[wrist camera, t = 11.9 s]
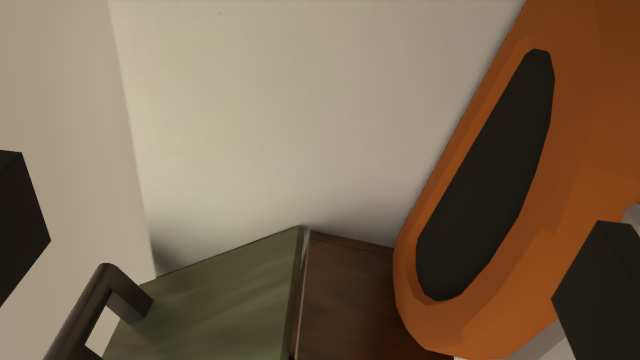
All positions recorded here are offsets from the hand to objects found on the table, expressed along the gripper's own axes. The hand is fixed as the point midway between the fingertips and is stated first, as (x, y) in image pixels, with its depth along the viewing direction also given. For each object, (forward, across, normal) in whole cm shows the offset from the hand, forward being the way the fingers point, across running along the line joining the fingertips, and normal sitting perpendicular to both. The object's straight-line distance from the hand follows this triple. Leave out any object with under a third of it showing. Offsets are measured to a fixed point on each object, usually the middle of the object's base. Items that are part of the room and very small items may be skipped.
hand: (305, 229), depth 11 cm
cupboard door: (+21, -10, -22) cm, 32 cm away
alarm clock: (+21, +13, -9) cm, 26 cm away
